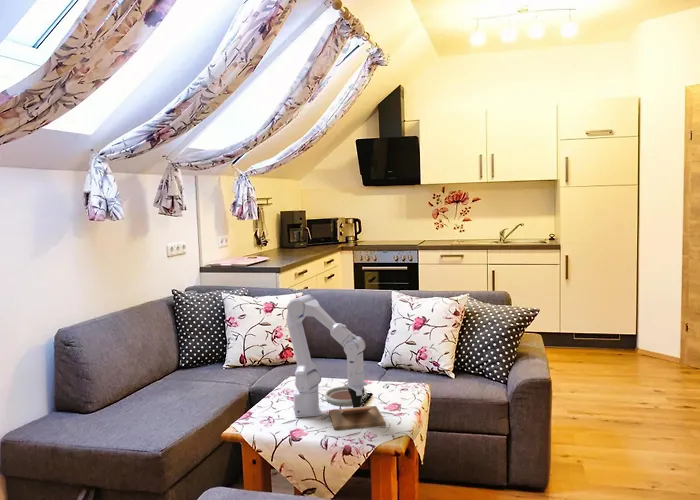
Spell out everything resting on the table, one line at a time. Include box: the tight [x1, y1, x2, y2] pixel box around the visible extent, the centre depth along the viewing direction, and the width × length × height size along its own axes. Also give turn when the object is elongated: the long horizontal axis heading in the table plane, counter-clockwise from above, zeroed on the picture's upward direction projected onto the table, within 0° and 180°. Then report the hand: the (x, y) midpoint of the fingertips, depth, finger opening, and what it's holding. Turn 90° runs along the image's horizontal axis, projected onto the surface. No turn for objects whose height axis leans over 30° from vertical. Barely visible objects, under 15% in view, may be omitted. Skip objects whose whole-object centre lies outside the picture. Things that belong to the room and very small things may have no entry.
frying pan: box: [324, 384, 368, 407], centre depth 248 cm, size 17×3×28 cm
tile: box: [341, 405, 373, 414], centre depth 220 cm, size 10×9×1 cm
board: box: [328, 405, 386, 431], centre depth 221 cm, size 18×16×1 cm
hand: (356, 408), depth 219 cm, fingers closed, pressing on tile
